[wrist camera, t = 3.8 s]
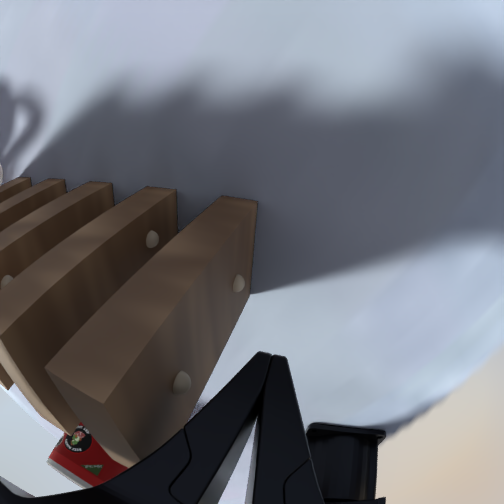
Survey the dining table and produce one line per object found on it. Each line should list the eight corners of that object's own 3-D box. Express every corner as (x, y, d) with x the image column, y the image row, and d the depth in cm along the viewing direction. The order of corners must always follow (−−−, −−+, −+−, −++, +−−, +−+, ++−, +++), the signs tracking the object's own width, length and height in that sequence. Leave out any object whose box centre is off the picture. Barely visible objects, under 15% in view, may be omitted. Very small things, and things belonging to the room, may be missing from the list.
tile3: (117, 183, 14) (-49, 295, 5) (127, 266, 16) (12, 394, 8) (90, 181, 14) (-64, 279, 6) (102, 260, 17) (-11, 373, 8)
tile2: (183, 190, 13) (6, 341, 5) (186, 281, 16) (78, 440, 7) (147, 186, 14) (-28, 314, 5) (154, 273, 16) (40, 416, 8)
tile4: (68, 179, 14) (-75, 268, 6) (81, 254, 17) (-28, 357, 8) (48, 178, 15) (-83, 258, 6) (62, 249, 17) (-42, 342, 9)
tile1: (265, 202, 12) (119, 412, 4) (256, 297, 15) (166, 485, 7) (222, 195, 13) (44, 367, 4) (219, 288, 15) (112, 459, 7)
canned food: (139, 400, 25) (88, 489, 16) (160, 436, 29) (124, 510, 19) (82, 378, 27) (31, 451, 17) (109, 416, 30) (70, 481, 21)
